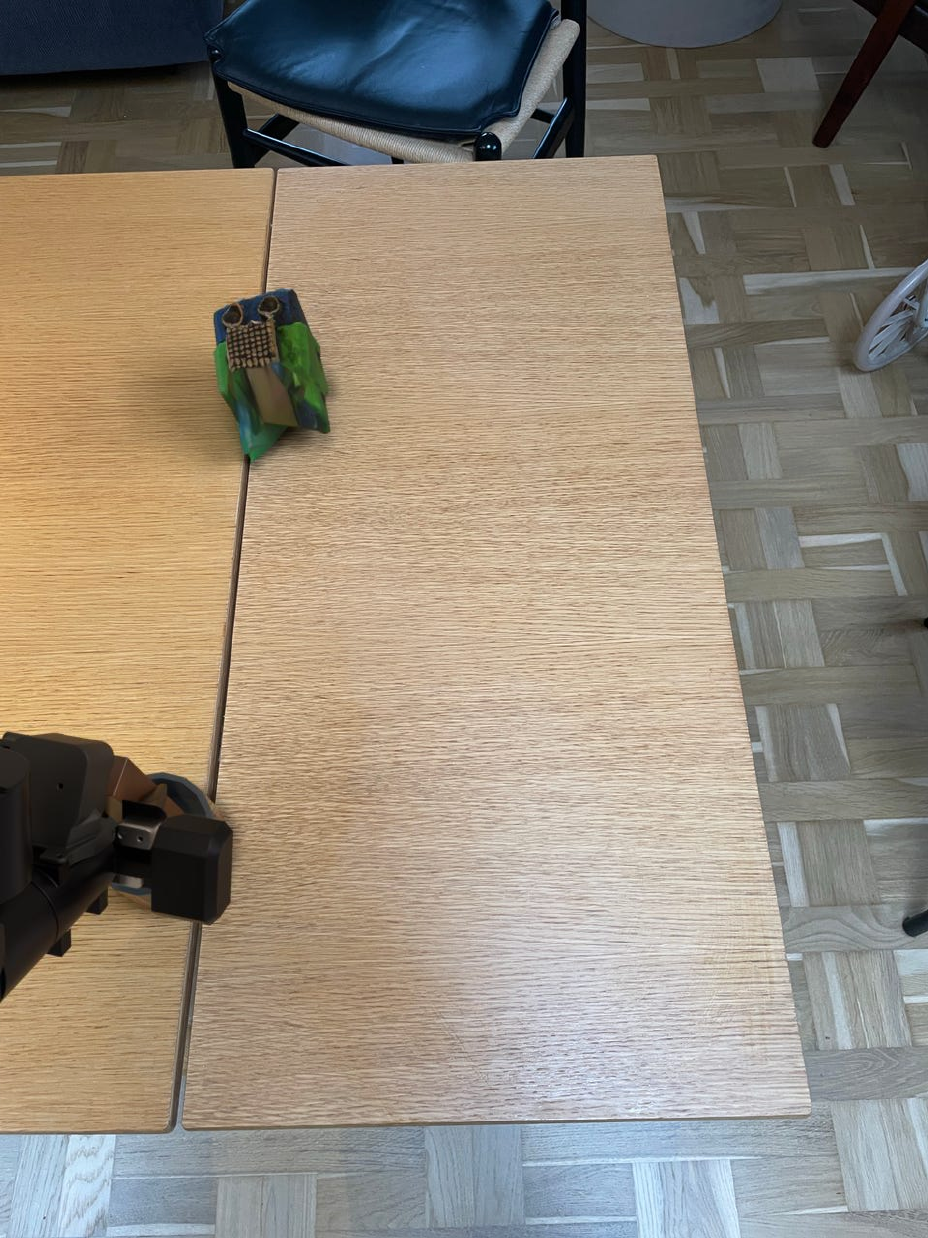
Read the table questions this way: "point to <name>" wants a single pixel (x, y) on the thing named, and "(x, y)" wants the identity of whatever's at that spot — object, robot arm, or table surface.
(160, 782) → the cup
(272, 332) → the sculpture
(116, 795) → the brown rectangular bar
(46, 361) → the table surface
